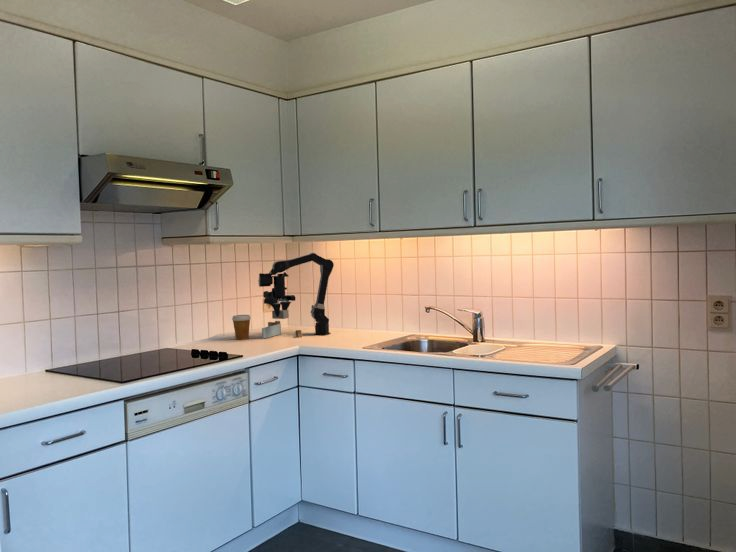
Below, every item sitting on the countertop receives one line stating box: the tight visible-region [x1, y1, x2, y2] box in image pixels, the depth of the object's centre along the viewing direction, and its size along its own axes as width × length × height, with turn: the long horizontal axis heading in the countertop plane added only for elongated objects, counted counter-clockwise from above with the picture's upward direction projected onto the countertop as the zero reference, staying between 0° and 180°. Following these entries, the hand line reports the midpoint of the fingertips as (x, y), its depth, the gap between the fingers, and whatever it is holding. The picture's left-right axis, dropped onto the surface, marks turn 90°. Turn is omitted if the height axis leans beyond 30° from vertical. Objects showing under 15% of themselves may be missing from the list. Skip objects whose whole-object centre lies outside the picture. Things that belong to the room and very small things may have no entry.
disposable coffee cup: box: [231, 314, 251, 341], centre depth 326 cm, size 10×10×12 cm
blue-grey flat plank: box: [261, 323, 282, 339], centre depth 331 cm, size 16×1×6 cm, turn 153°
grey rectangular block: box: [271, 309, 290, 320], centre depth 325 cm, size 7×4×4 cm, turn 62°
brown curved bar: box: [267, 320, 303, 338], centre depth 335 cm, size 27×2×7 cm, turn 43°
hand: (280, 316), depth 325 cm, fingers closed on grey rectangular block, 4 cm apart
